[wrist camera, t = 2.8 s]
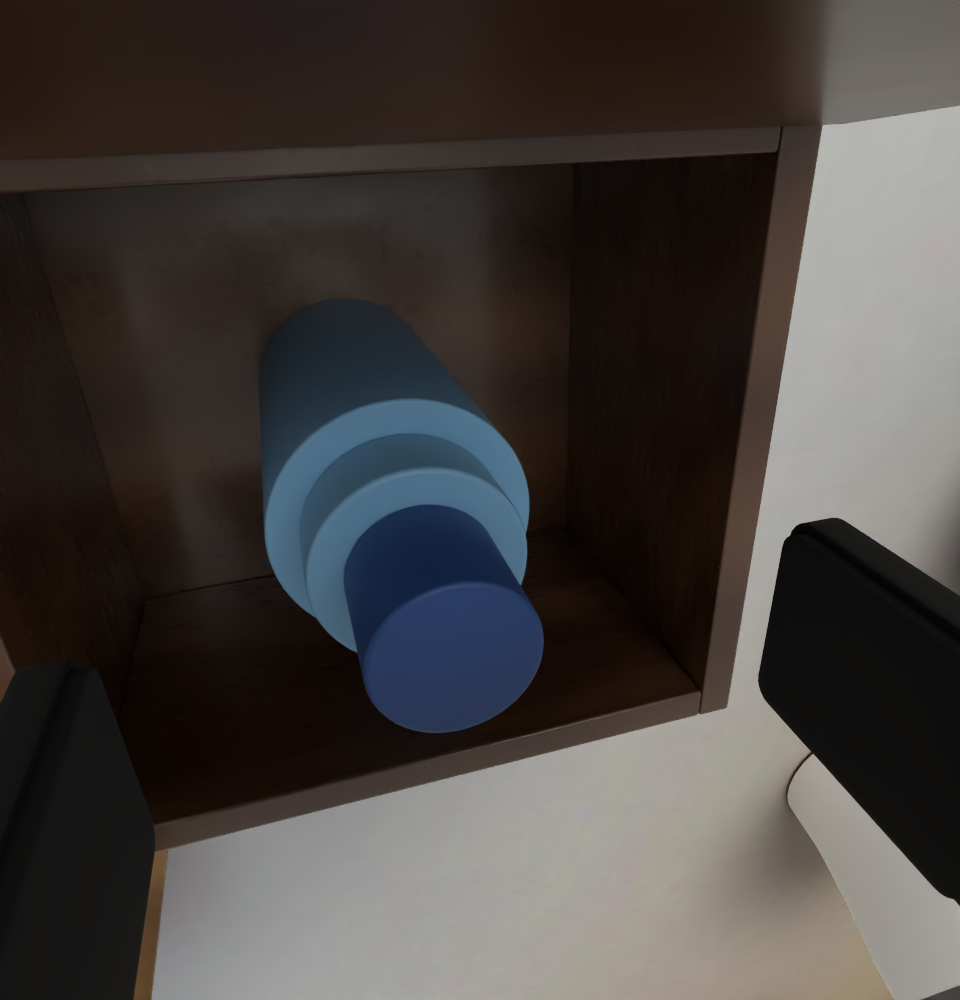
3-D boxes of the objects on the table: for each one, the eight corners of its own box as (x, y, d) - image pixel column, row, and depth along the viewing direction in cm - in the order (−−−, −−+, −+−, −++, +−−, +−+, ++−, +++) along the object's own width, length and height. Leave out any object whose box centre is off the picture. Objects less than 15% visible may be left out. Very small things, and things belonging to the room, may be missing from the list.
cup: (772, 871, 41) (976, 1158, 30) (728, 770, 36) (957, 1072, 24) (927, 777, 41) (1189, 1026, 30) (906, 663, 36) (1217, 912, 24)
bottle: (231, 426, 21) (209, 764, 9) (302, 265, 19) (373, 440, 8) (385, 485, 23) (515, 817, 12) (459, 345, 21) (685, 568, 10)
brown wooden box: (577, 528, 27) (727, 708, 18) (127, 609, 23) (57, 878, 15) (589, 114, 20) (828, 97, 12) (-24, 136, 17) (-299, 135, 8)
